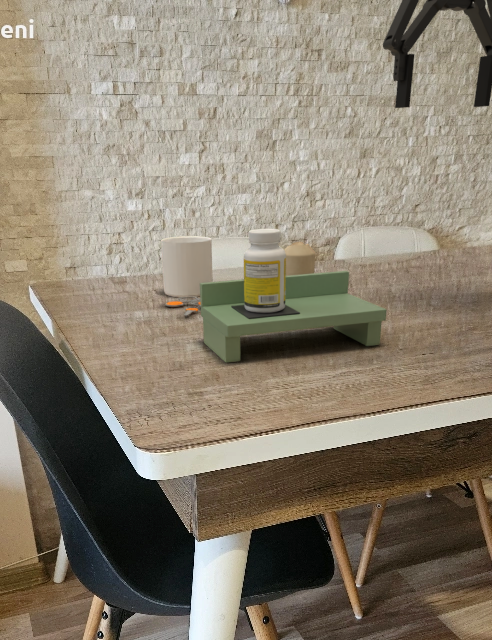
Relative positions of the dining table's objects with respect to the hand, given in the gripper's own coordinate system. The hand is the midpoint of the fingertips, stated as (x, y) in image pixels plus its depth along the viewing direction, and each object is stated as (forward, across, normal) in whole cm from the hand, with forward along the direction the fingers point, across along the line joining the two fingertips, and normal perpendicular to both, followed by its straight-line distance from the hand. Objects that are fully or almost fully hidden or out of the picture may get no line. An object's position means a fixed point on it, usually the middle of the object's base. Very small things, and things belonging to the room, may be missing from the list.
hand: (442, 107), depth 99 cm
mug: (+29, +34, -25) cm, 51 cm away
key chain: (+29, +37, -11) cm, 48 cm away
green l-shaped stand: (+29, +30, +15) cm, 44 cm away
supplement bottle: (+24, +34, +15) cm, 44 cm away
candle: (+29, +20, -6) cm, 36 cm away
